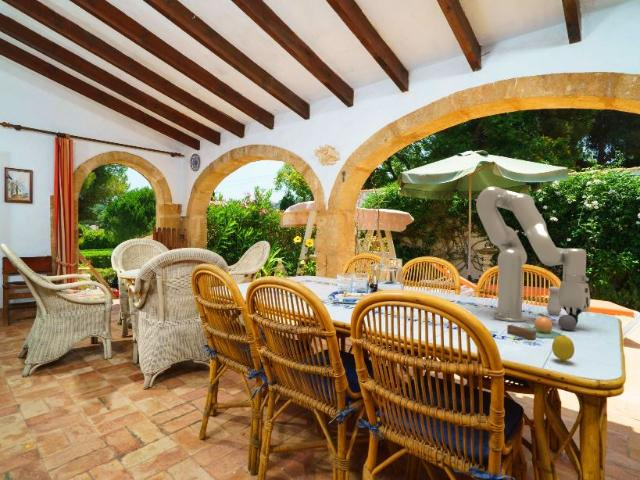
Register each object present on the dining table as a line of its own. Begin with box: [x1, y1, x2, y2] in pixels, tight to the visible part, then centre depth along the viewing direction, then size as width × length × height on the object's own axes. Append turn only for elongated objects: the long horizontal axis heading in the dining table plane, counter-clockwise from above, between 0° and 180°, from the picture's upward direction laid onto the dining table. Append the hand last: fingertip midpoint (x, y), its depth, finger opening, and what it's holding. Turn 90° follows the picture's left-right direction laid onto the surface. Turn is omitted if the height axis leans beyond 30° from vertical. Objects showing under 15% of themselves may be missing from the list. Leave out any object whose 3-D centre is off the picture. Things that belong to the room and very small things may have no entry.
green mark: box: [524, 327, 563, 339], centre depth 141 cm, size 14×14×1 cm
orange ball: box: [534, 316, 554, 333], centre depth 141 cm, size 6×6×6 cm
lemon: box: [551, 334, 575, 362], centre depth 110 cm, size 6×6×8 cm
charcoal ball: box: [557, 314, 577, 331], centre depth 146 cm, size 6×6×6 cm
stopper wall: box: [506, 324, 537, 341], centre depth 136 cm, size 2×10×3 cm, turn 25°
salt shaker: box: [546, 286, 562, 316], centre depth 174 cm, size 6×6×13 cm
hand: (572, 324), depth 149 cm, fingers closed
